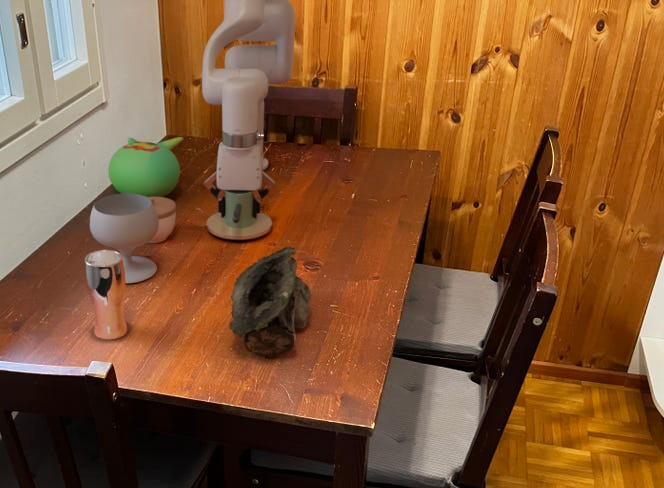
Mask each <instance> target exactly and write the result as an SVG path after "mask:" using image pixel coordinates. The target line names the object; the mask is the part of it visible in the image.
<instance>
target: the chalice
mask: <svg viewBox="0 0 664 488" xmlns="http://www.w3.org/2000/svg"><path fill="white" fill-rule="evenodd" d="M158 227H159V221H158V216H157V212H156V209H155V207H154V205H153V203H152V202H151V200H150V199H149V198H147V197H145V196H142V195H138V194H131V193H123V194H121V193H114V194H110V195H106V196H103V197H101V198H99V199H97V200H96V201H95V203H93V206H92V209H91V212H90V216H89V229H90V233H91V235H92V237H93V238H94V239H95V240H96V242H98V243H99V244H101V245H103V246H105V247H108V248H112V249H115V250H117V251H118V252H119V253H120V254H121V255H122V260H123V265H124V271H125V282H126V284H133V283H139V282H142V281H145V280H148V279H149V278H151V277H153V276H154V275H155V274H156V273H157V271H158V265H157V264H156V263H155V262H154V261H152V260H151V259H149V258H147V257H144V256H137V255H132V253H133V252H134V250H135V249H137V248H139V247H141V246H143V245H145V244H147V242H149V241H150V240H151V239H152V238H153V237H154V236H155V235H156V233H157V230H158Z"/></svg>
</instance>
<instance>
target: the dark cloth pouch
mask: <svg viewBox="0 0 664 488" xmlns="http://www.w3.org/2000/svg"><path fill="white" fill-rule="evenodd" d="M295 254H296V248H295V247H292V246H286V247H283V248H282V249H280V250H276V251H275V252H272V253H271V254H268V255H266V256H263V257H261V258H258V260H257V261H256V262H253V263H252V264H251V265H249V266H247V267H246V268H245V270H243V271H242V272H241V273H240V274H239V276H237V278H236V281H235V282H234V284H233V289H232V293H231V295H230V299H231V302H232V306H231V316H232V320H231V321H230V322H229V324H228V328H229V329H230V331H232V333H233V334H234V335H237V336H239V337H240V338H242V337H243V336H244V337H243V341H244V347H245V348H246V350H247V351H248V352H249V353H252V354H254V355H257V356H260V357H264V358H265V359H268V360H269V359H274V358H277V357H278V356H280V355H283V354H285V353H287V352H291V351H292V350H293V348H294V347H295V344H296V341H297V334H296V330H295V329H303V328H305V327H306V325H307V321H308V317H309V316H310V315H311V310H310V303H311V302H310V301H311V299H312V294H311V288H310V287H309V285H308V283H306V282H304V281H303V279H302V278H301V277H300V276H298V275H297V269H298V262H297V260H296V258H294V257H292V256H291V255H295Z"/></svg>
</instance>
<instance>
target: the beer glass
mask: <svg viewBox="0 0 664 488" xmlns="http://www.w3.org/2000/svg"><path fill="white" fill-rule="evenodd" d="M122 257H123V256H122V253H121V252H120V251H118V250H117V251H116V250H113V249H99V250H95V251H92V252H90V253H88V254H87V255H86V256H85V257H84V273H85V274H84V275H85V276H84V277H85V284H86V289H87V293H88V297H89V300H90V303H91V306H92V310H93V313H94V314H93V315H94V329H93V331H94V332H93V333H94V335H95V336H96V337H97V338H98V339H101V340H106V341H107V340H109V341H110V340H116V339H121V338H122V337H124V336H125V335H126V334H127V332H128V325H127V322H126V319H125V313H124V309H125V308H124V307H125V299H126V287H127V285H126V284H127V283H126V282H125V271H124V265H123V260H122Z"/></svg>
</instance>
